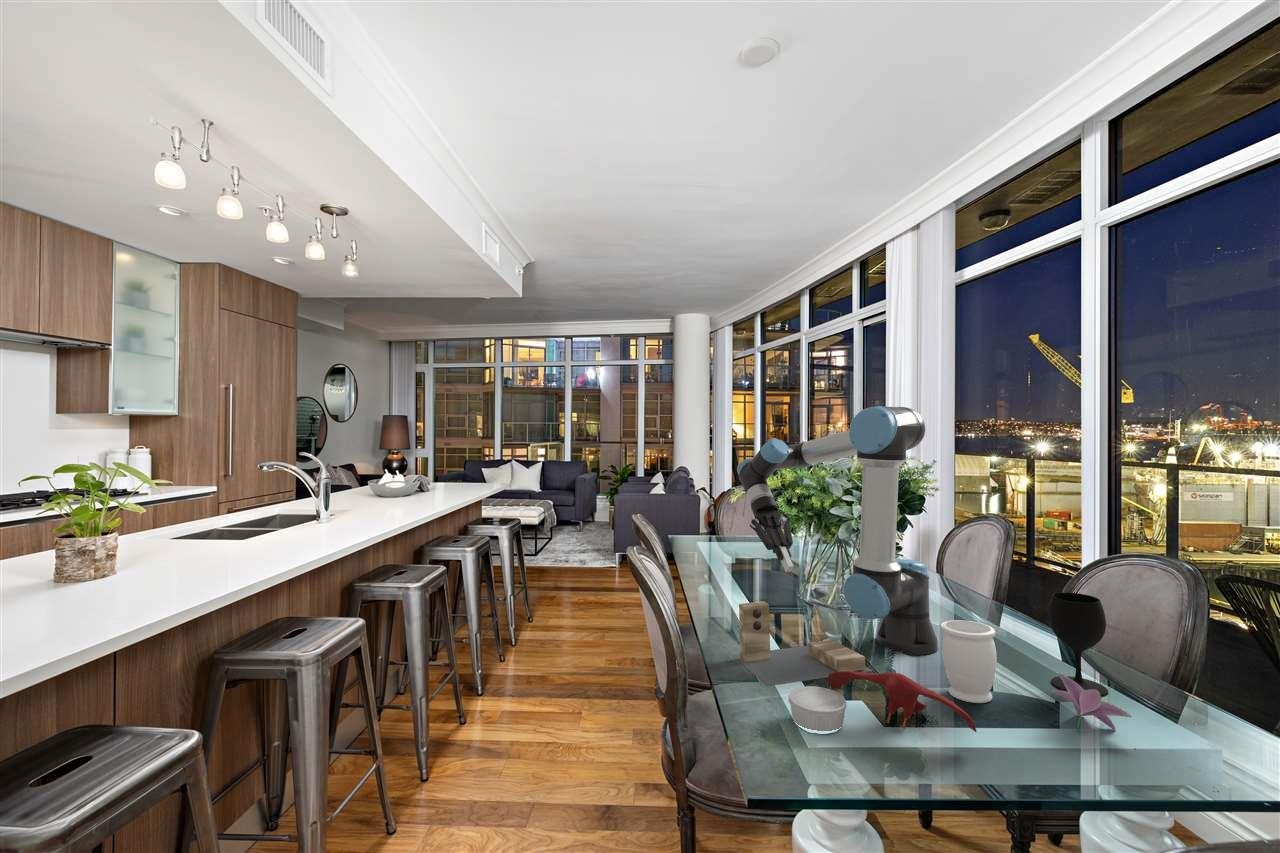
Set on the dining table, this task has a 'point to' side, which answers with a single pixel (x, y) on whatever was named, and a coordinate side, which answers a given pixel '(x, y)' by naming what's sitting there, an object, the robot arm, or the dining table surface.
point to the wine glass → (1077, 631)
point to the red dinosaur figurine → (898, 692)
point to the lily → (1089, 702)
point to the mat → (789, 666)
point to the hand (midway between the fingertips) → (789, 568)
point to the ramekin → (817, 708)
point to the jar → (969, 659)
